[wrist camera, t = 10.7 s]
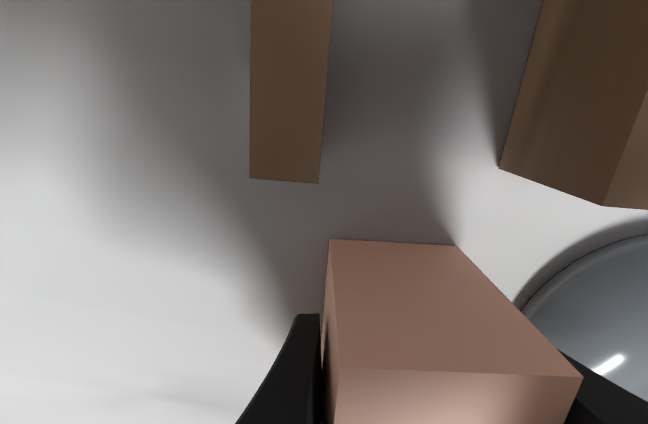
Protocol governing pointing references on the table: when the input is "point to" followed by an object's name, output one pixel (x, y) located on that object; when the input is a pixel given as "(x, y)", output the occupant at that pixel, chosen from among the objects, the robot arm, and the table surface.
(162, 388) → the table surface
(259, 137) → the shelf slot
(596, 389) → the robot arm
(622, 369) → the coaster
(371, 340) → the block
